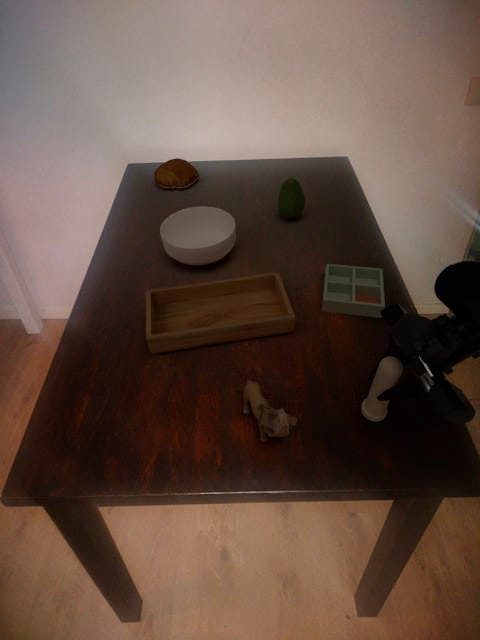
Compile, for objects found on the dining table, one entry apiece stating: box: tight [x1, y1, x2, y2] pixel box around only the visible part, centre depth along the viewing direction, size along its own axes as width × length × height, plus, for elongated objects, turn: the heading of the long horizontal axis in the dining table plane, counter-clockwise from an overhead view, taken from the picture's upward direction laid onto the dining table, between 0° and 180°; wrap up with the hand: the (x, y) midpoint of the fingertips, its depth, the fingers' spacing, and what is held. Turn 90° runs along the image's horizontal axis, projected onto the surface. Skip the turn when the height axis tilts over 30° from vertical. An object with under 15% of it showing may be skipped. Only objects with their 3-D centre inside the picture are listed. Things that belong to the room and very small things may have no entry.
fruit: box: [277, 177, 306, 220], centre depth 111 cm, size 8×8×12 cm
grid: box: [321, 263, 386, 319], centre depth 89 cm, size 13×13×4 cm
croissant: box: [153, 157, 200, 192], centre depth 131 cm, size 14×16×8 cm
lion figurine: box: [237, 380, 298, 443], centre depth 66 cm, size 15×5×9 cm, turn 35°
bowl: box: [159, 205, 237, 266], centre depth 102 cm, size 20×20×8 cm
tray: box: [145, 271, 296, 355], centre depth 85 cm, size 31×15×6 cm, turn 100°
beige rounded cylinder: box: [360, 356, 404, 423], centre depth 58 cm, size 4×4×13 cm
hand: (373, 389), depth 58 cm, fingers closed on beige rounded cylinder, 3 cm apart
